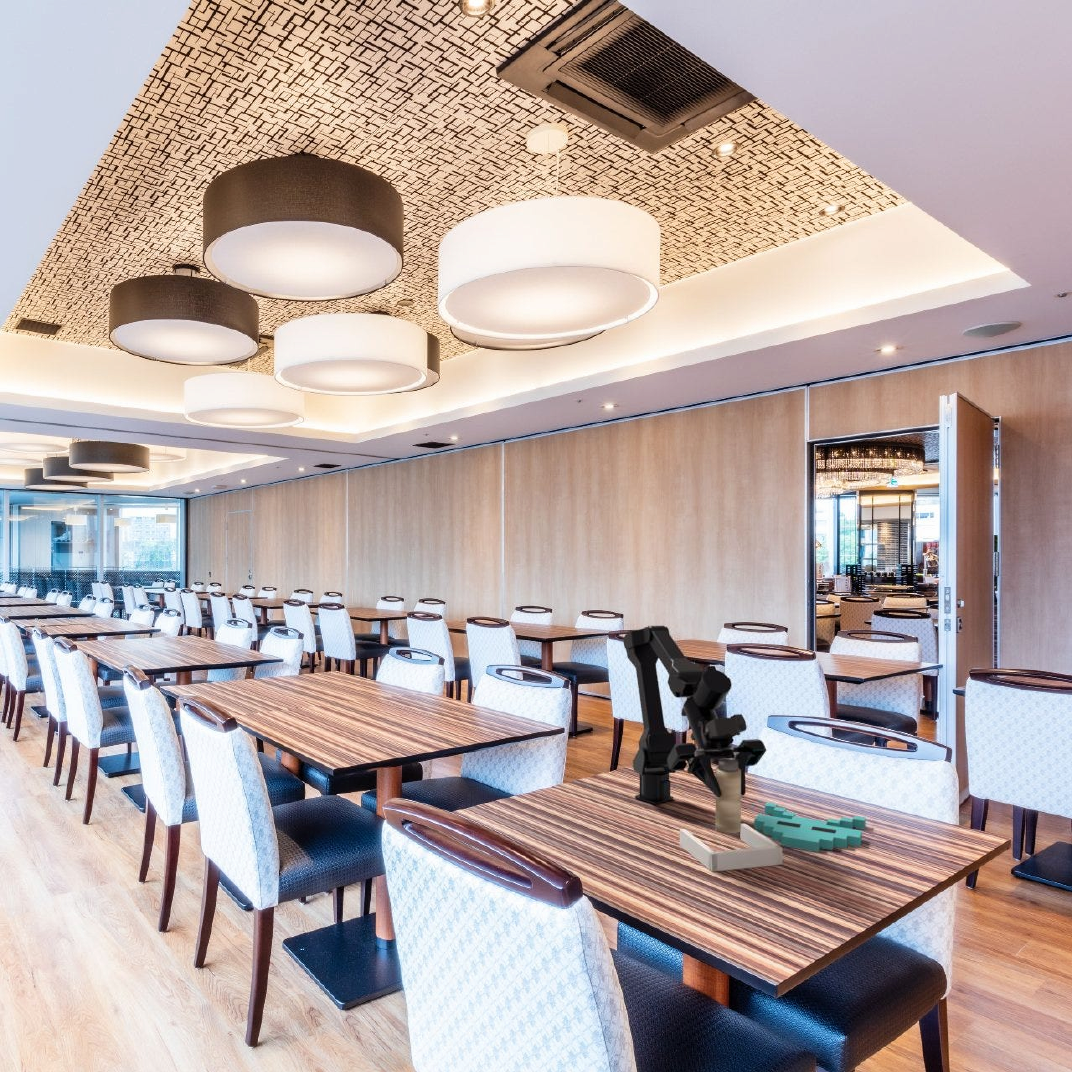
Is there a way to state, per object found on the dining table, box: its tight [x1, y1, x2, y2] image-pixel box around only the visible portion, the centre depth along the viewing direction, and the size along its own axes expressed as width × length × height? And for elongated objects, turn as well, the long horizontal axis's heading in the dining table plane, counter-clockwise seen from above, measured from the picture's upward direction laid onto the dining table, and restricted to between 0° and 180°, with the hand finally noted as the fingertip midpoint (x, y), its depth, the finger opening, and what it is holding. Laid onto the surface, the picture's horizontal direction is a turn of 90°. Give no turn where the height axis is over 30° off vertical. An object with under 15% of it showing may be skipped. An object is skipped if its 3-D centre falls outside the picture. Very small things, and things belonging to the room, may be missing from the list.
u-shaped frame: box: [679, 823, 783, 873], centre depth 142 cm, size 13×14×3 cm
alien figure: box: [753, 802, 867, 853], centre depth 154 cm, size 20×2×20 cm
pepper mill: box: [714, 759, 742, 834], centre depth 143 cm, size 5×5×12 cm
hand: (731, 795), depth 141 cm, fingers closed on pepper mill, 5 cm apart
